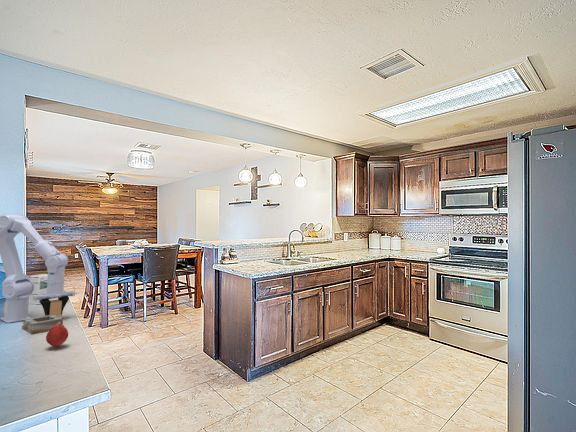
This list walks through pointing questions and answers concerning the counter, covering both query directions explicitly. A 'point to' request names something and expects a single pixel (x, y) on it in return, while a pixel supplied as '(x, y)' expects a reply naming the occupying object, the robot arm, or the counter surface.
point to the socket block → (41, 323)
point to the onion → (57, 335)
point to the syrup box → (38, 286)
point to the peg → (55, 308)
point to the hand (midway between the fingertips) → (53, 315)
